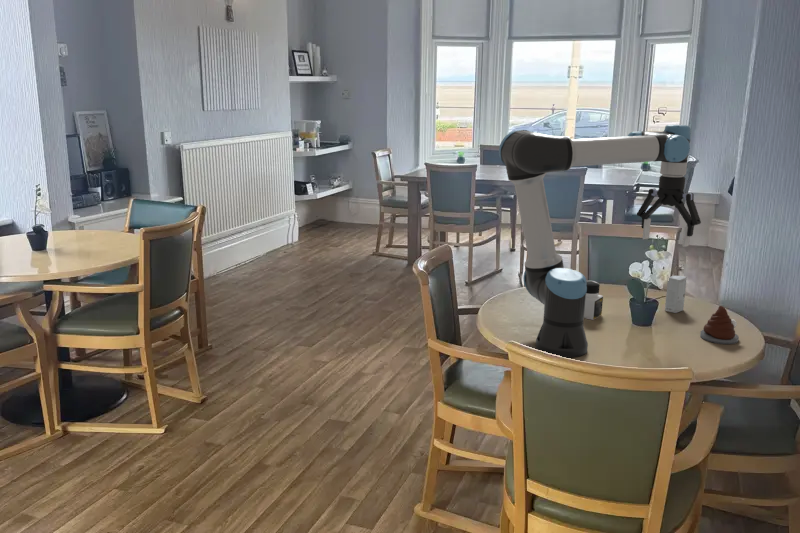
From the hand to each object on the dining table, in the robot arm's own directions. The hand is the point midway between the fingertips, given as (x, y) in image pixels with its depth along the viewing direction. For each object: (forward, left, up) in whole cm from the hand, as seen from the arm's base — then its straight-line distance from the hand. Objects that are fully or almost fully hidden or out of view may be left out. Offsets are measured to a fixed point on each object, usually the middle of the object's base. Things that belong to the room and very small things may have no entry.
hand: (665, 242), depth 222 cm
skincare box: (+22, +5, -29) cm, 37 cm away
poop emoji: (+5, -18, -28) cm, 33 cm away
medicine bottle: (-7, +21, -29) cm, 36 cm away
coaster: (+6, -18, -29) cm, 34 cm away
